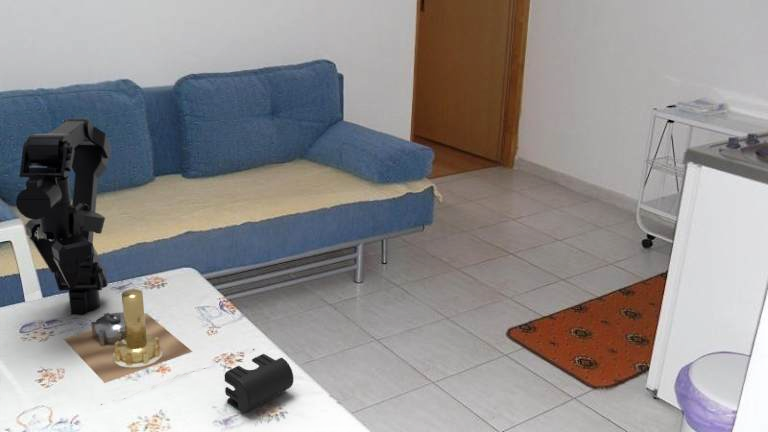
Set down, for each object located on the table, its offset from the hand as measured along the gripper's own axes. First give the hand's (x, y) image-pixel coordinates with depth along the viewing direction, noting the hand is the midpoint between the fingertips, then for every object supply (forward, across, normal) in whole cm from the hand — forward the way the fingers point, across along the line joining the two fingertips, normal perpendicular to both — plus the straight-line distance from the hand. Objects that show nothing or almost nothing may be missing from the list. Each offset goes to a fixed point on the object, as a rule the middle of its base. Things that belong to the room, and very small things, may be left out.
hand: (63, 279), depth 146 cm
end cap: (+14, -40, -18) cm, 46 cm away
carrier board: (+13, -11, -7) cm, 18 cm away
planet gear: (+12, -16, -7) cm, 21 cm away
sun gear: (+12, -6, -7) cm, 15 cm away
